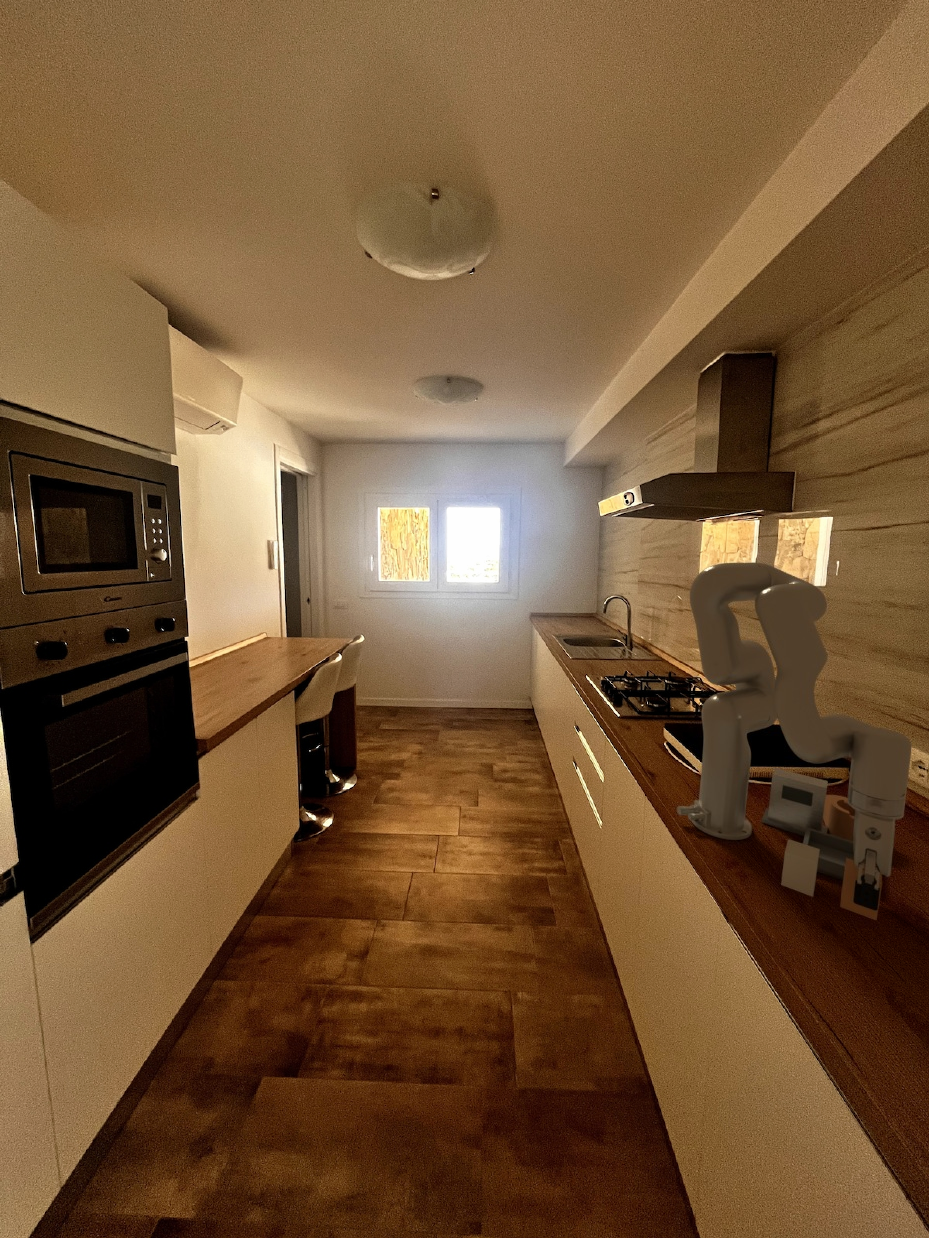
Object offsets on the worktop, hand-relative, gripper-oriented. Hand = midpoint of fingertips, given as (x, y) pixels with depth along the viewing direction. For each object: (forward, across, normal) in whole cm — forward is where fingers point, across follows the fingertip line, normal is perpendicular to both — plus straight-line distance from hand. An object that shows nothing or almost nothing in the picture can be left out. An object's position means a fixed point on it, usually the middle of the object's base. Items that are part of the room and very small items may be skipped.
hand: (865, 890), depth 87 cm
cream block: (+3, 0, +10) cm, 10 cm away
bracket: (+3, +31, +4) cm, 32 cm away
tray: (+3, +12, +5) cm, 14 cm away
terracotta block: (+3, 0, +1) cm, 3 cm away
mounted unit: (+3, +22, +13) cm, 26 cm away
